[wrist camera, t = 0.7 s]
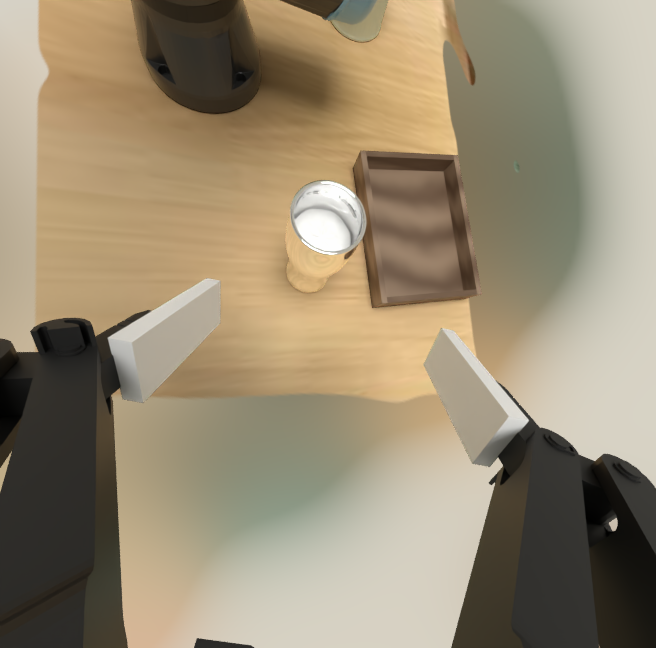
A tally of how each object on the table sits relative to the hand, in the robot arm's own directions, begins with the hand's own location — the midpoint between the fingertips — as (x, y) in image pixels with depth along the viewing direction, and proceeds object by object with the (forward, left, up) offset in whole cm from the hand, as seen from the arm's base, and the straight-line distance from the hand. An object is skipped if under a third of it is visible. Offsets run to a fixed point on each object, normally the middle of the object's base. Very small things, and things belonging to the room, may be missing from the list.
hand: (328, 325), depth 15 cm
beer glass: (-9, +2, -20) cm, 22 cm away
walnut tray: (-14, +19, -20) cm, 31 cm away
